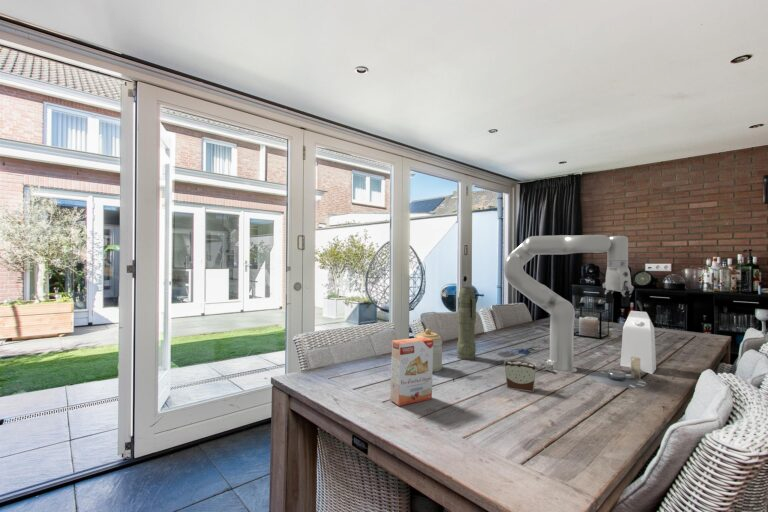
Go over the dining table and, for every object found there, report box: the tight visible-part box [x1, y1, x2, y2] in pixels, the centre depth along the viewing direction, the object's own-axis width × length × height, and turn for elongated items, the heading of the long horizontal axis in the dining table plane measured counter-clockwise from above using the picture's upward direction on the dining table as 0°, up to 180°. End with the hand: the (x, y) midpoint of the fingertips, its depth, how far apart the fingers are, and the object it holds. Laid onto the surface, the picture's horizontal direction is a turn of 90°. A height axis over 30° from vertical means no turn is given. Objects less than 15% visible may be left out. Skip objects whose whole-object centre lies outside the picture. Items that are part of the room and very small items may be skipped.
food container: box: [502, 358, 539, 392], centre depth 142 cm, size 12×6×10 cm, turn 65°
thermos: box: [456, 286, 477, 361], centre depth 184 cm, size 9×12×35 cm
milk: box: [619, 310, 657, 375], centre depth 169 cm, size 12×12×26 cm
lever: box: [607, 357, 641, 380], centre depth 149 cm, size 13×6×8 cm, turn 94°
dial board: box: [588, 371, 648, 389], centre depth 149 cm, size 20×20×1 cm
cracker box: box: [390, 337, 433, 407], centre depth 127 cm, size 14×6×21 cm, turn 121°
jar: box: [414, 328, 443, 373], centre depth 165 cm, size 13×13×18 cm
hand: (617, 304), depth 158 cm, fingers open, 9 cm apart
